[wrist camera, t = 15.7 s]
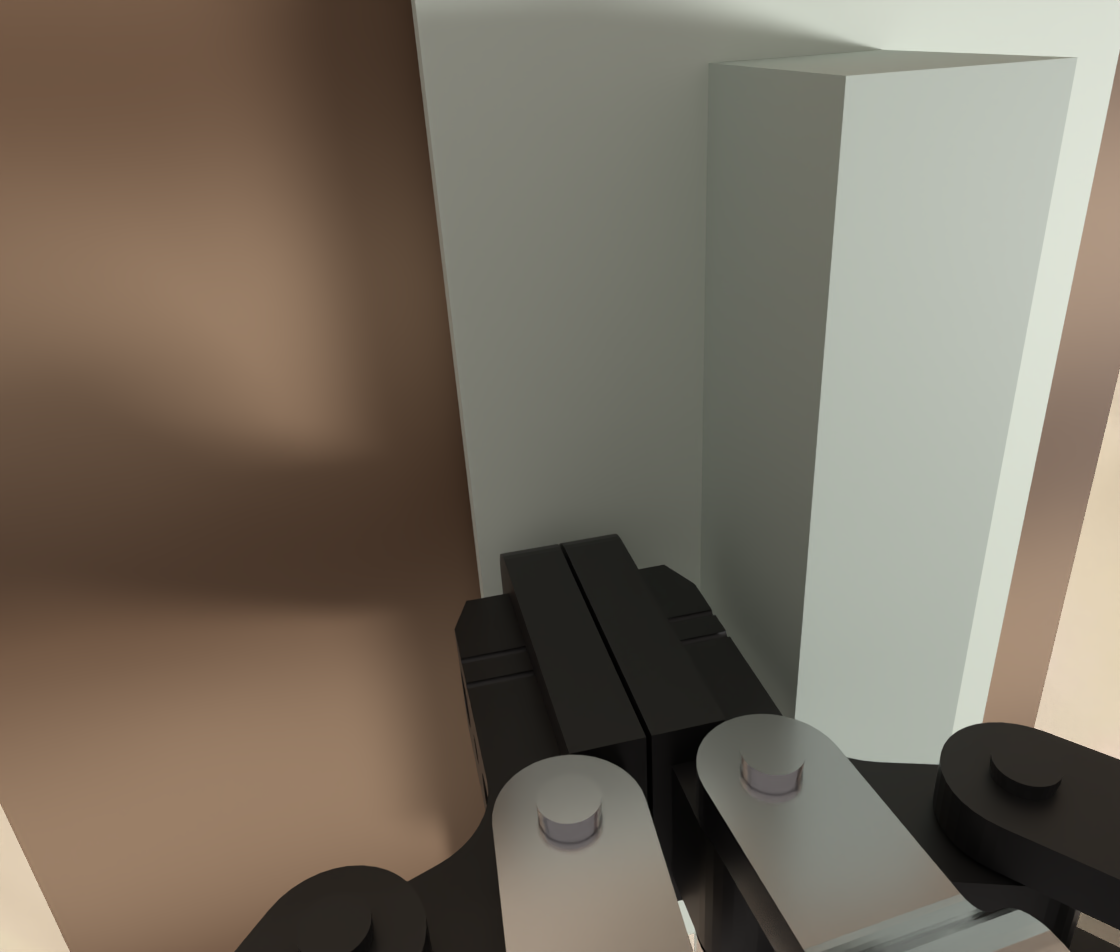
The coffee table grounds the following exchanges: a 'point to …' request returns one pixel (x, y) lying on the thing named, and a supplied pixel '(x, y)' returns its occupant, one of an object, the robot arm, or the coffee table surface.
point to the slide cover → (771, 311)
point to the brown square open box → (284, 462)
